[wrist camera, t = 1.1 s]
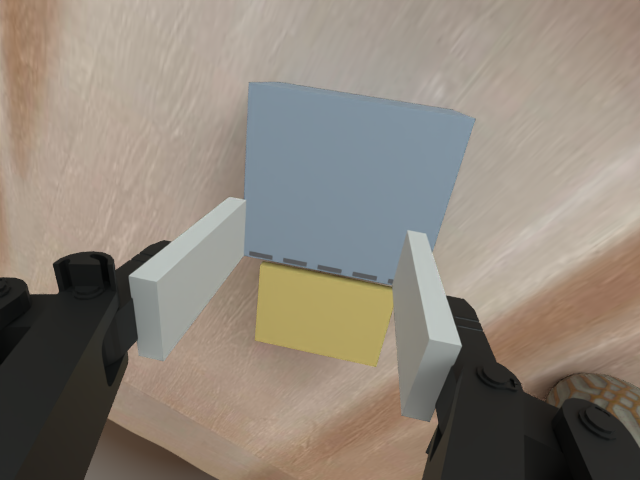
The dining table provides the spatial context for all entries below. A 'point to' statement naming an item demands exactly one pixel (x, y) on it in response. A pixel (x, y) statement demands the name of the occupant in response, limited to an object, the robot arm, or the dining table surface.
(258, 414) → the dining table surface
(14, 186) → the dining table surface
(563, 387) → the vase
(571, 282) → the dining table surface
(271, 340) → the yellow rectangular panel
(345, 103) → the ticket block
